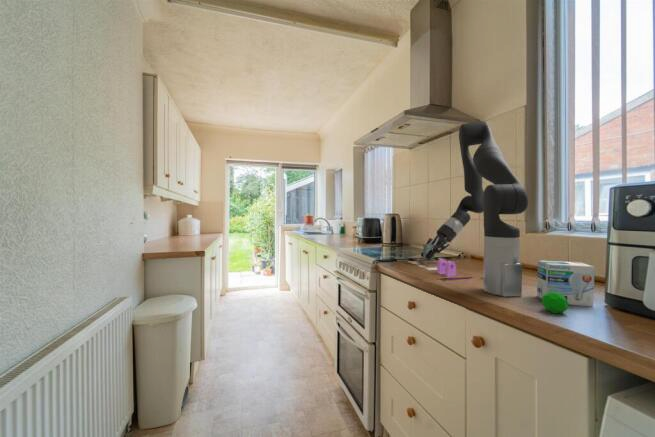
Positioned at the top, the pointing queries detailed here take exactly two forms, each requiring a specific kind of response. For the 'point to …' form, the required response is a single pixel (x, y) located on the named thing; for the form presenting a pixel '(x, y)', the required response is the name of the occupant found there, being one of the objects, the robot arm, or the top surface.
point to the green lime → (555, 302)
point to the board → (423, 265)
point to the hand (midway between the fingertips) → (424, 257)
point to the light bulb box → (567, 281)
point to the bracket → (448, 269)
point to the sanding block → (424, 260)
